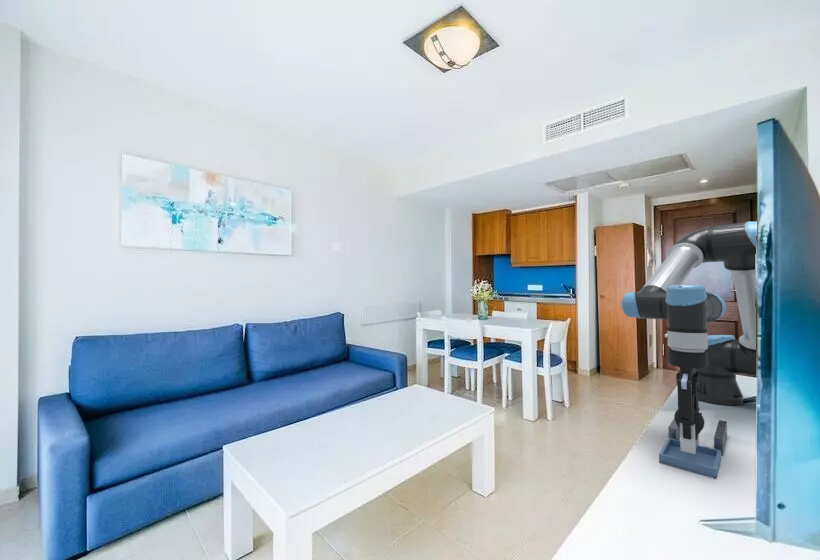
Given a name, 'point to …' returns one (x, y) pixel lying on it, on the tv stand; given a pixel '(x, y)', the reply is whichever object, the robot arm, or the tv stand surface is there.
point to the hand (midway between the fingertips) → (690, 447)
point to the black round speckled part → (697, 421)
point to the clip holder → (718, 438)
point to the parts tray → (691, 458)
